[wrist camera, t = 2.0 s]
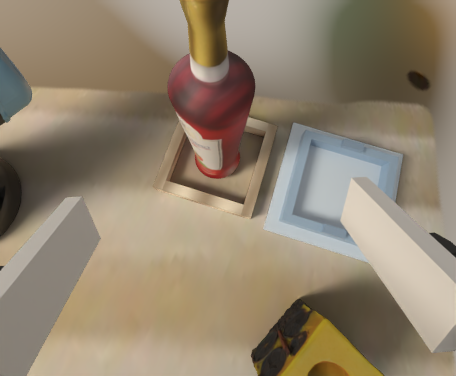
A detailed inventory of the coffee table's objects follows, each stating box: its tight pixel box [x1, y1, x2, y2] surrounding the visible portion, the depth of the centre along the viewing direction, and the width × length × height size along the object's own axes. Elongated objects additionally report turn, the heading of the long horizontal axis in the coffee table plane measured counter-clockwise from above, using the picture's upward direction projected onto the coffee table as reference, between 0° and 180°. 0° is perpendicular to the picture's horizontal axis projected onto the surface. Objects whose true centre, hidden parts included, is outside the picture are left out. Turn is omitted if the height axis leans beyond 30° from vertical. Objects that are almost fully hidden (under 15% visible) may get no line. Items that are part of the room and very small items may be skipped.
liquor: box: [168, 0, 255, 179], centre depth 25 cm, size 7×7×28 cm
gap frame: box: [153, 117, 278, 219], centre depth 38 cm, size 15×15×2 cm
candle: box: [251, 299, 384, 376], centre depth 28 cm, size 10×10×10 cm
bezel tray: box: [263, 123, 403, 263], centre depth 36 cm, size 18×18×3 cm
